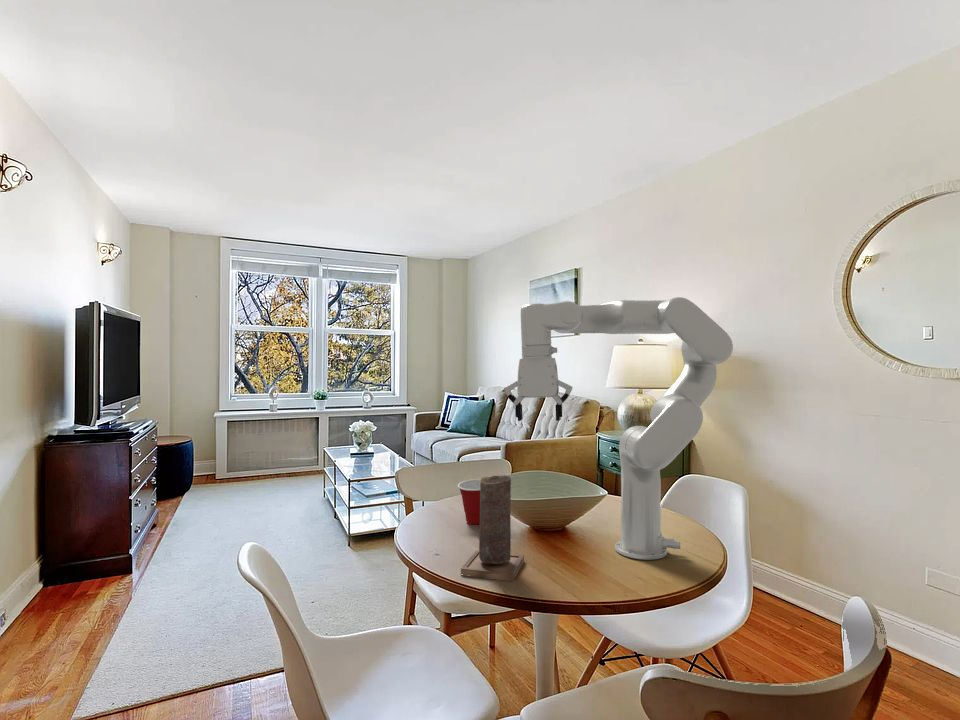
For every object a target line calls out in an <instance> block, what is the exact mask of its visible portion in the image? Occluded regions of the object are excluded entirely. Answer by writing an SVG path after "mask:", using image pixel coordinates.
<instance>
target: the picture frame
mask: <svg viewBox="0 0 960 720" xmlns="http://www.w3.org/2000/svg"><path fill="white" fill-rule="evenodd" d="M524 562H525V555H524V554H514V553H510V561H508V562H505V563H502V564H484V563H483V562H482V561H481V560H480V558H479V550H477V549H476V550H475V551H474V552H473V553H472V554H471V556H470V557H469V558H468V559H467V561H466V562H465V563H464V564H463V565H462V566H461V568H460V575H461V574H463V575H462V576H464V575H470V576H469V577H473V576H477V577H476V578H481V577H484V578H483V579H490V578H491V579H493V580H499V581H509V582H513V581H514V580H515V578H516V577H517V575H518V572H520V570H519V569H521V567H523V564H524Z"/></svg>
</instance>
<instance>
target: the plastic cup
mask: <svg viewBox="0 0 960 720" xmlns="http://www.w3.org/2000/svg"><path fill="white" fill-rule="evenodd" d="M480 480H481V478H476V479H468V480H462V481H461V482H459V483H458V484H457V487H458V489H459V491H460V494H461V497H462V498H461V500H462V504H463V512H464V513H465V514H464V515H465V516H464V517H465V521H466V524H468V525H469V526H476V527H478V526H480Z"/></svg>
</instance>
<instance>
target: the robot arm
mask: <svg viewBox="0 0 960 720" xmlns="http://www.w3.org/2000/svg"><path fill="white" fill-rule="evenodd" d="M552 331H554V332H556V333H557V334H558V333H560V334H607V335H631V334H632V335H635V334H636V335H637V334H638V335H639V334H640V335H642V334H643V335H644V334H645V335H669V334H676V336H678V337H679V339H680V340H681V341H682V343H681V347H680V349H681V356H682V360H683V366H682V371H681V373H680V375H678V377H677V379H675V381H674V382H673V383H672V384H671V386H669V388H668V389H666V391H665V392H664V393H663V394H662V395H661V396H660V397H659V398H658V399H657V400H656V401H655V402H654V404H653V405H652V407H651V409H650V412H649V413H650V415H649V417H650V421H651V423H650V424H649V426H648V427H647V426H643V425H635V426H630V427H629V428H627V429H626V430H624V432H623V433H622V435H621V437H620V439H619V443H618V450H619V452H618V453H619V460H620V470H621V471H620V476H621V480H620V482H621V490H620V491H621V501H620V503H621V508H620V509H621V510H620V511H621V515H620V516H621V517H620V518H621V519H620V520H621V521H620V523H621V525H620V526H621V527H620V529H621V531H620V532H621V534H620V535H621V537H620V538H621V539H620V540H618V541H617V542H615V544H614V549H615V551H616V552H617V553H618V554H620V555H622V556H625V557H627V558H631V559H636V560H642V561H643V560H644V561H645V560H647V561H651V560H653V561H654V560H660V559H662V558H665V557H666V556H667V554H668V549H674V550H681V541H680V540H675V538H671V537H669V538H667V537H665V536H663V533H662V532H663V531H661V519H662V518H661V514H662V513H661V502H662V501H661V498H662V497H661V495H662V494H661V489H662V486H661V485H662V483H661V482H662V481H661V470H663V469H665V468H666V467H667V466H668V465H670V464H671V463H672V462H673V461H674V460H675V459H676V458H677V456H678V455H680V454H681V452H682V451H684V449H685V448H686V447H687V445H689V444H690V442H692V440H693V439H694V438H695V437H696V436H697V434H698V433H699V431H700V430H701V427H702V425H703V422H704V413H703V411H702V408H701V406H702V405H703V404H704V402H705V401H706V400H707V399H708V397H709V396H711V394H712V392H713V390H714V388H715V387H716V383H717V374H718V373H717V371H718V370H717V365H721V364H723V363H725V362H727V360H728V359H729V358H730V357H731V356H732V354H733V350H734V344H733V341H732V338H731V337H730V335H729V333H728V332H727V331H726V330H725V329H724V328H722V327H721V326H720V325H719V324H718V323H716V322H715V320H713V319H712V318H711V317H710V316H709V315H708V314H707V313H706V312H705V311H703V310H702V309H701V308H700V307H699V306H697V305H696V304H695V303H694V302H693V301H691V300H690V299H688V298H686V297H680V296H678V297H673V298H670V299H664V300H661V299H660V300H657V299H655V300H653V299H652V300H651V299H650V300H636V299H635V300H631V299H630V300H628V299H626V300H625V299H624V300H623V299H621V300H615V301H610V302H607V303H605V302H604V303H601V304H588V305H586V304H585V305H578V304H577V303H576V302H573V301H568V300H566V301H558V302H555V303H538V302H537V303H528V304H524V305H522V307H521V308H520V332H521V334H520V335H521V339H520V340H521V358H519V361H518V369H517V381H515V382H513V383H511V384H508V386H506V387H504V389H503V390H504V391H503V392H505V394H506V396H507V398H508V399H509V400H510V402H512V403H513V405H514V406H515V407H514V408H515V410H514V411H515V418H517V421H518V422H521V421H522V420H523V418H524V417H523V404H522V401H523V399H525V398H526V399H527V398H529V399H530V398H534V399H535V398H552V399H553V400H554V401H555V402H556V404H555V421H557V422H558V421H560V420H561V418H562V417H563V403H564V402H565V401H566V400H567V399H568V398H569V396H570V395H571V393H572V391H573V386H572V385H570V384H568V383H566V382H564V381H562V380H559V372H558V366H557V365H558V364H557V361H556V358H555V357H552V356H553V354H557V353H558V347H554V346H553V345H552ZM559 387H561V388H562V389H564V390H565V391H564V393H563V395H562V396H560V394H559V393H560V392H559V391H560V390H559ZM516 388H517V389H516ZM514 389H516V390H517V395H518V396H515V395H514V394H513V393H512V390H514ZM667 548H668V549H667Z"/></svg>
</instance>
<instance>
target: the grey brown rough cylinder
mask: <svg viewBox="0 0 960 720" xmlns="http://www.w3.org/2000/svg"><path fill="white" fill-rule="evenodd" d="M480 479H481V480H480V525H479V537H478V539H479V540H478V541H479V543H478V549H479V550H478V551H479V558H480V560H481V561H482V562H483V563H484V564H502V563H505V562H508V561H510V554H511V553H512V552H511V546H512V545H511V538H512V536H511V531H512V530H511V528H512V527H511V526H512V525H511V500H512V499H511V498H512V496H511V494H512V493H511V489H512V488H511V487H512V485H511V484H512V483H511V482H512V480H511V479H512V478H511V476H508V475H506V474H501V475H492V476H484V477H481V478H480Z"/></svg>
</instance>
